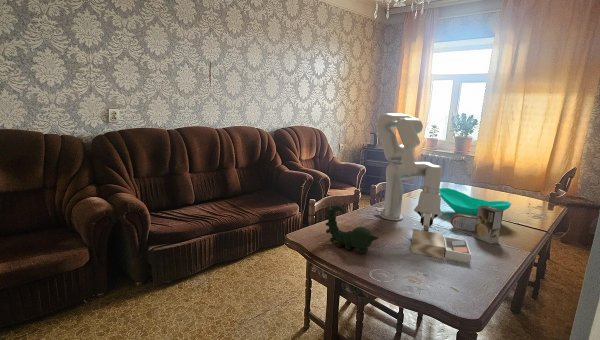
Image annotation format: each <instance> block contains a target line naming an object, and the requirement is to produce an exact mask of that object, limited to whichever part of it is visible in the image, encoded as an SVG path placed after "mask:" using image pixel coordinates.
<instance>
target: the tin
mask: <svg viewBox="0 0 600 340" xmlns="http://www.w3.org/2000/svg"><path fill="white" fill-rule="evenodd" d="M476 219H477V216H471V215H465V214H457V213H456V214H454V215H452V216H451V217H450V224H451V226H452V228H454V229H455V230H458V231H464V232H471V233H474V232H475V225H476Z"/></svg>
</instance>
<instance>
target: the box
mask: <svg viewBox="0 0 600 340" xmlns="http://www.w3.org/2000/svg"><path fill="white" fill-rule="evenodd" d="M443 239H444V244H445V251H444V258H443V259H444V260H448V261H449V260H450V261H453V262H459V263H462V264H463V263H464V264H470V265H471V259H472V252H471V250H470V246H469V243H468V240H465V239H461V238H455V237H449V236H444V235H443ZM462 240H464V242H465V246H466V248H467V251H468V254H467V253H462V252H457V251H454V250H453V246H452V241H462Z"/></svg>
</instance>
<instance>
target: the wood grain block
mask: <svg viewBox="0 0 600 340" xmlns="http://www.w3.org/2000/svg"><path fill="white" fill-rule="evenodd" d="M443 237H444V234H443V233H439V232H438V233H437V232H432V231H423V229H422V230H421V229H415V228H413V229H412V236H411V245H410V253H414V254H418V255H423V256H427V257H434V258H437V259H445V258H444V251H445V244H444V239H443Z"/></svg>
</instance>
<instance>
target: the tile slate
mask: <svg viewBox="0 0 600 340" xmlns="http://www.w3.org/2000/svg"><path fill="white" fill-rule="evenodd" d="M464 240H465V239H462V241H452V246H453V247H466V246H465V242H464ZM453 250H454V249H453Z"/></svg>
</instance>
